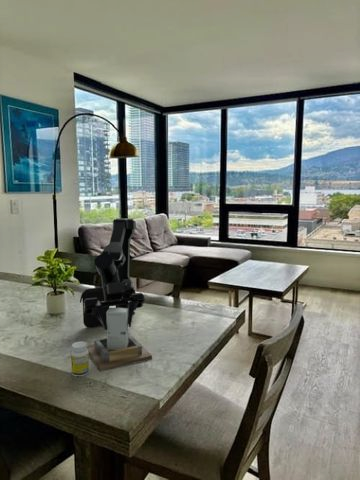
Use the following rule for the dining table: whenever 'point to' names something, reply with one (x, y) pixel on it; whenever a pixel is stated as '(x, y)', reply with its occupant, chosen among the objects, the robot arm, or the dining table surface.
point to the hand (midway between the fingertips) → (118, 328)
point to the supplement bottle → (80, 359)
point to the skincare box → (117, 328)
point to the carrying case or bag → (89, 318)
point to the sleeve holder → (117, 354)
